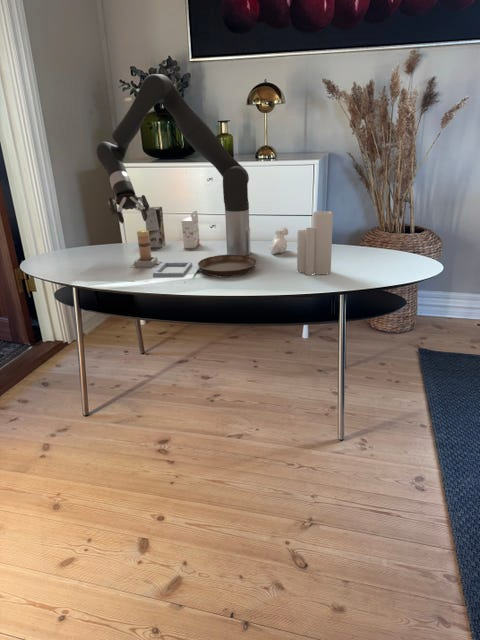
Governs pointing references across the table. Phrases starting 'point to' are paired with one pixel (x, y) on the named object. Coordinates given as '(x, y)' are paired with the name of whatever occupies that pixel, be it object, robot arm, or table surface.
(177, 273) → the parts tray
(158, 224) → the coffee box
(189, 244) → the ink cartridge box
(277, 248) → the bust
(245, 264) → the plant saucer
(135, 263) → the fuse block
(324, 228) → the vase
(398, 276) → the table surface
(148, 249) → the cylinder
